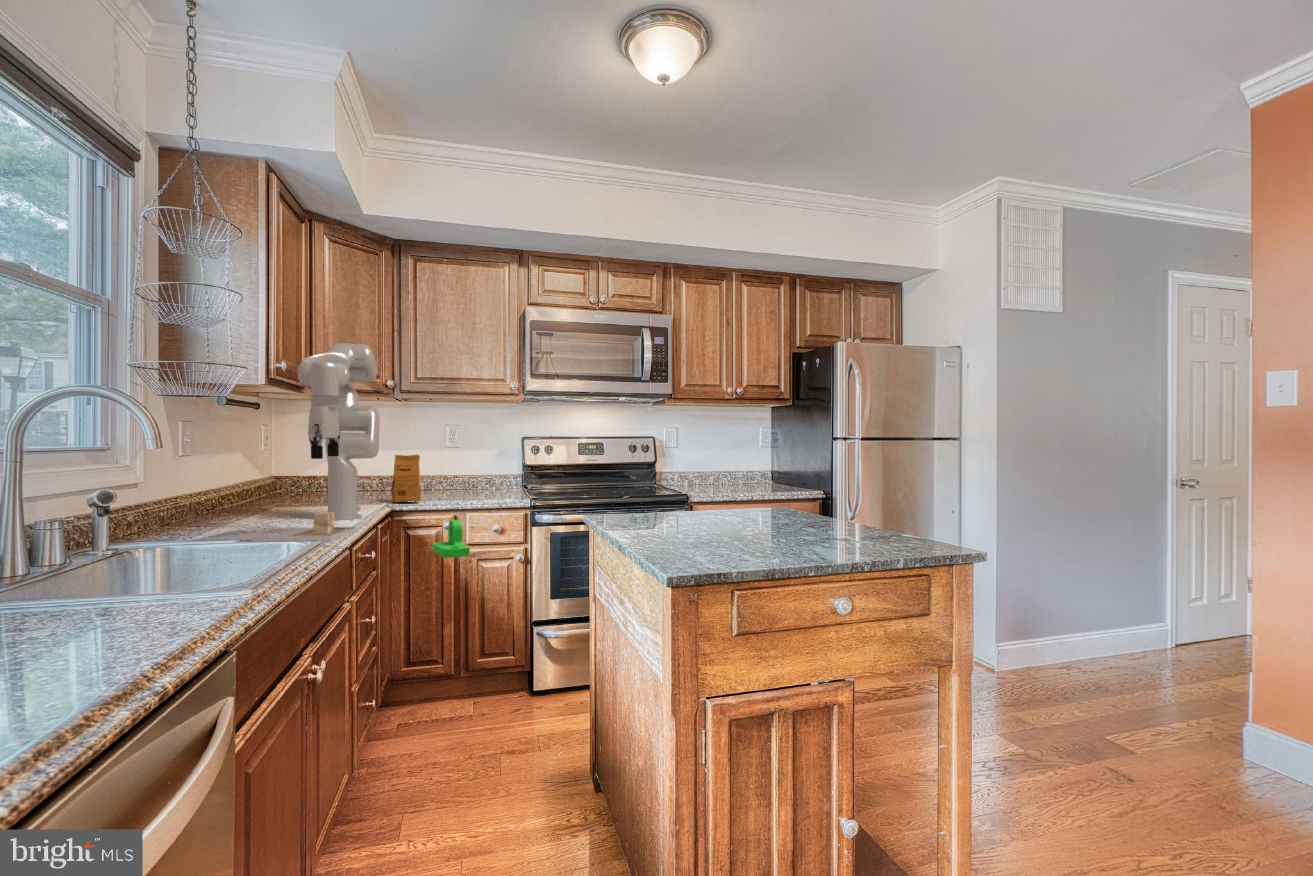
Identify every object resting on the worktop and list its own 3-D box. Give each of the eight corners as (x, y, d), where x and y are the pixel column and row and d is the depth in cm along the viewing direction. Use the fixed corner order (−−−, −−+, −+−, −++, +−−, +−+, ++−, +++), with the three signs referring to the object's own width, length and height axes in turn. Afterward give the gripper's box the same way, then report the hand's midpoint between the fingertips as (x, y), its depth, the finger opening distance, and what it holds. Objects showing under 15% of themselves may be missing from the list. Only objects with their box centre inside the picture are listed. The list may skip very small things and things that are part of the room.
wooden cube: (320, 535, 180) (320, 512, 180) (334, 535, 180) (334, 512, 180) (313, 537, 176) (313, 513, 176) (327, 537, 176) (327, 513, 176)
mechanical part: (432, 551, 155) (432, 520, 155) (456, 548, 159) (456, 518, 159) (444, 558, 146) (444, 525, 146) (469, 556, 149) (469, 524, 149)
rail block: (272, 532, 185) (272, 527, 185) (357, 532, 186) (357, 526, 186) (237, 541, 169) (237, 535, 169) (331, 540, 170) (331, 534, 170)
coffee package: (391, 501, 277) (391, 454, 277) (420, 500, 282) (420, 454, 282) (390, 503, 268) (390, 454, 268) (420, 502, 272) (420, 454, 272)
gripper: (326, 402, 192) (327, 455, 193) (296, 401, 175) (297, 459, 176) (350, 402, 192) (350, 455, 193) (322, 401, 175) (323, 459, 176)
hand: (325, 457), depth 184 cm, fingers open, 9 cm apart
